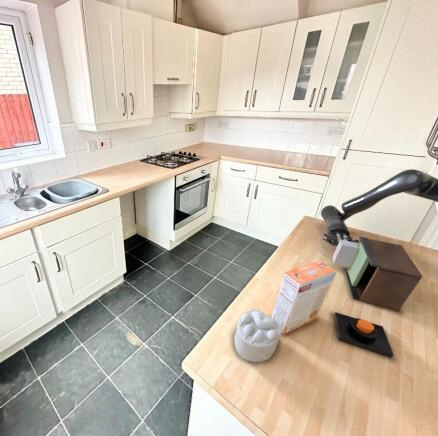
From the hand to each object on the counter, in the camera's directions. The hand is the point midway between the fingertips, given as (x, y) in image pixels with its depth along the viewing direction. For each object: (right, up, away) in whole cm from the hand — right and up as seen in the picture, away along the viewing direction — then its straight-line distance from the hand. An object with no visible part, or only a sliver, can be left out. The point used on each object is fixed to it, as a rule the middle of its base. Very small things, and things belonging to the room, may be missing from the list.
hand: (343, 250), depth 97 cm
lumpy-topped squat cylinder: (-47, -25, -25) cm, 59 cm away
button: (-15, -20, -25) cm, 35 cm away
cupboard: (+3, -13, -7) cm, 15 cm away
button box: (-15, -23, -24) cm, 36 cm away
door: (-2, -9, -2) cm, 9 cm away
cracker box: (-32, -21, -18) cm, 42 cm away
